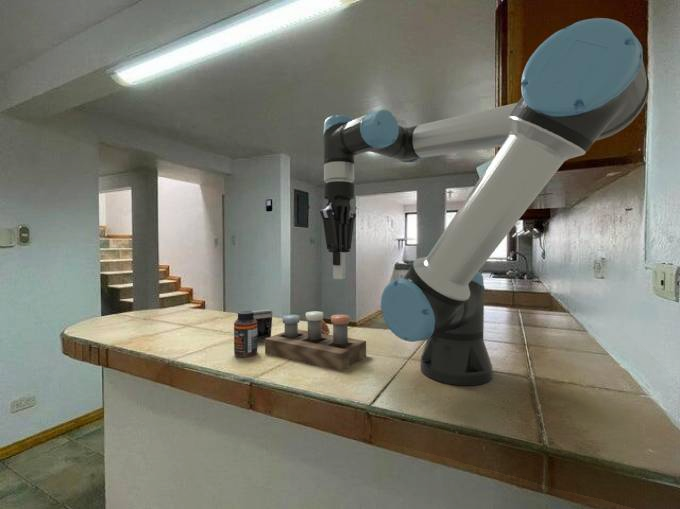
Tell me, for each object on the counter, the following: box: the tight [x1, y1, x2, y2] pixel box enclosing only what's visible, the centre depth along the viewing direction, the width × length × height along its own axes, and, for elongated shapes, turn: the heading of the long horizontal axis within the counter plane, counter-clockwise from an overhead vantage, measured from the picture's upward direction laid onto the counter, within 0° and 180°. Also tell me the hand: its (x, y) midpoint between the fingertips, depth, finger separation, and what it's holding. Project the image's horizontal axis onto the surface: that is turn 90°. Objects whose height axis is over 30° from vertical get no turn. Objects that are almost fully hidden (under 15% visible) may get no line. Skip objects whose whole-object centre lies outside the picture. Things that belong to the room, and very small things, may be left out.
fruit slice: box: [321, 318, 331, 335], centre depth 102 cm, size 8×7×5 cm
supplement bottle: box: [233, 310, 258, 358], centre depth 86 cm, size 6×6×11 cm
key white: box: [305, 310, 324, 340], centre depth 85 cm, size 5×5×6 cm
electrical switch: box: [252, 309, 273, 342], centre depth 99 cm, size 9×5×9 cm, turn 117°
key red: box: [330, 314, 351, 345], centre depth 81 cm, size 5×5×6 cm
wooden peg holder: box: [264, 329, 367, 372], centre depth 86 cm, size 24×12×4 cm, turn 58°
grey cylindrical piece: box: [282, 314, 301, 339], centre depth 90 cm, size 5×5×6 cm
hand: (339, 278), depth 81 cm, fingers closed
